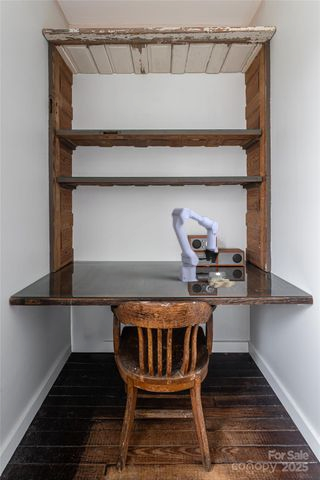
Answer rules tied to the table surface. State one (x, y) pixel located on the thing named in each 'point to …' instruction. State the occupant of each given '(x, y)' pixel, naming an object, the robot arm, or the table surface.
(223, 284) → the parallel rails
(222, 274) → the axle
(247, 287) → the table surface
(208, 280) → the v block
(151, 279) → the table surface
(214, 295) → the table surface
